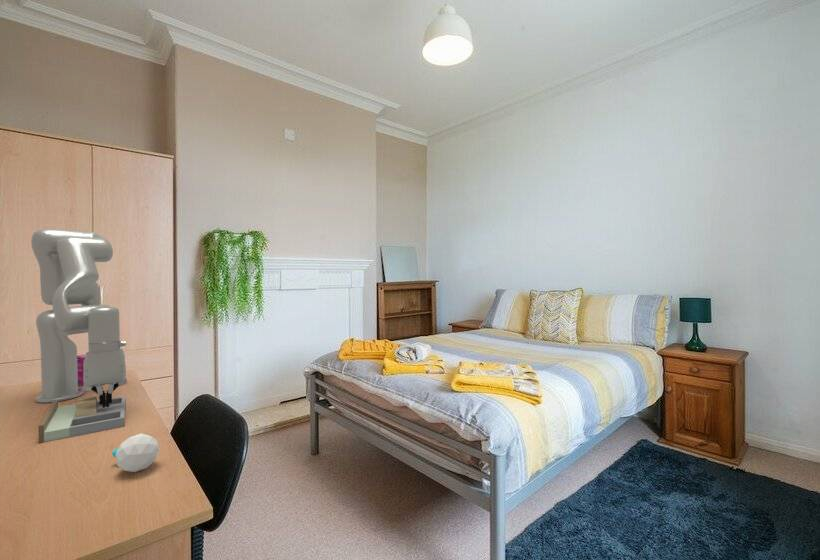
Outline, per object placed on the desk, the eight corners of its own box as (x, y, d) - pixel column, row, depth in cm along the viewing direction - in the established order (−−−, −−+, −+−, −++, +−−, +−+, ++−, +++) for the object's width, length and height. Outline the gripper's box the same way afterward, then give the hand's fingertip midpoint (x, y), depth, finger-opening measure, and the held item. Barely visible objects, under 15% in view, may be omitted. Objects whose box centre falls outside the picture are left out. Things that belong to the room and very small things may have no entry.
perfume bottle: (126, 468, 79) (86, 467, 83) (158, 475, 86) (120, 473, 89) (144, 430, 84) (105, 430, 87) (173, 438, 90) (136, 438, 94)
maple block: (77, 412, 114) (77, 399, 114) (97, 409, 116) (97, 396, 116) (76, 417, 110) (76, 403, 110) (96, 413, 113) (96, 400, 113)
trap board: (53, 415, 118) (53, 401, 117) (125, 403, 128) (125, 390, 128) (38, 442, 99) (38, 426, 99) (124, 426, 110) (124, 410, 110)
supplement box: (73, 384, 149) (73, 356, 149) (91, 380, 155) (90, 353, 155) (82, 386, 147) (81, 357, 147) (99, 382, 153) (99, 354, 152)
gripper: (134, 342, 123) (135, 397, 123) (73, 348, 114) (75, 408, 114) (134, 346, 117) (136, 404, 117) (70, 352, 108) (72, 415, 109)
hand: (105, 406), depth 116 cm, fingers closed
